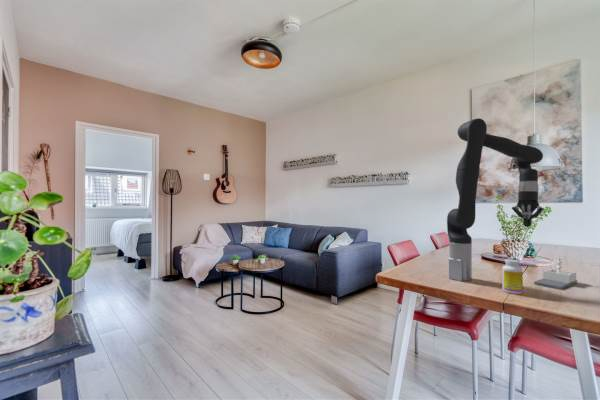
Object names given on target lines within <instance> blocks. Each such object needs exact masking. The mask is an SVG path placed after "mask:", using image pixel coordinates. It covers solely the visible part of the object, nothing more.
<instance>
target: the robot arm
mask: <svg viewBox="0 0 600 400" xmlns="http://www.w3.org/2000/svg"><path fill="white" fill-rule="evenodd" d="M487 127H488V126H487V123H486V122H485V119H483V118H479V117H478V118H474V119H471V120H469V121H466V122H464V123H462V124H461V125H460V126H459V127H458V129H457V136H458V138H459V139H460V140H462V141H464V142H466V146H465V147H466V148H465V150H464V152H463V155H462V157H461V158H460V160H459V162H458V164H457V167H456V175H455V184H456V189H457V192H458V196H459V199H458V206H457V208H452V209H450V211H448V213H447V216H446V227H447V236H448V239H449V249H448V250H449V253H448V254H449V258H448V279H450V280H455V281H458V282H471V281H472V280H473V277H472V276H473V275H472V274H473V272H472V271H473V270H472V269H473V268H472V267H473V264H472V263H473V261H472V260H473V258H472V257H473V256H472V253H473V252H472V251H473V250H472V249H473V248H472V247H473V246H472V244H473V243H472V241H473V240H472V239H473V238H472V237H471V236H470V234H469V233H468V230H469V229H470V228H472V226H473V225H474V224H475V221H476V200H477V192H478V191H477V190H478V183H479V182H478V181H479V175H480V167H481V166H480V165H481V159H482V154H483V153H482V152H483V148H484V147H485V148H488V149H491V150H493V151H496V152H498V153H501V154H503V155H505V156H507V157H510V158H515V162H516V166H517V170H518V172H519V179H518V181H519V182H518V194H517V195H518V197H517V199H518V200H517V203H516V205H514V206H512V207H511V209H512V211H513V212H514V213H515V214H516V215H517V216H518V218H521V219H522V221H523V222H522V225H523V226H524V228H526V227H527V228H530V227H531V226H532V220H533V219H536V218H538V216H539V215H541V214H542V213H543V212H544V211H545V207H543V206H541V205H540V203H539V182H538V181H539V177H538V176H539V171H538V170H537V168H532V166H531V165H533V164H537V163H540V162H541V161H542V160H543V158H544V154H543V152H542V151H541V150H540V149H539V148H537V147H533V146H531V145H527V144H523V143H519V142H517V141H515V140H512V139H511V138H509V137H508V138H507V137H503V136H499V135H494V134H490V133H487Z"/></svg>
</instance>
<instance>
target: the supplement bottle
mask: <svg viewBox="0 0 600 400" xmlns="http://www.w3.org/2000/svg"><path fill="white" fill-rule="evenodd" d="M504 263H505V265H503V266H502V268H501V271H502V273H501V277H502V278H501V279H502V280H501V283H502V284H501V287H502V288H501V289H502V291H503V292H505V293H509V294H514V295H520V294H523V293H524V291H523V290H524V289H523V285H524V284H523V283H524V282H523V269H522V267H520V260H519V259H511V258H510V259H509V258H508V259H507V258H506V259H504Z"/></svg>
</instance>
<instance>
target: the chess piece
mask: <svg viewBox="0 0 600 400" xmlns="http://www.w3.org/2000/svg"><path fill="white" fill-rule="evenodd" d="M561 260H562V258H561V256H558V258H556V261H555V262H556V267H555V268H557V269H558V271H557V273H561V270H562V269H561V268H563V266H562V263H563V261H561Z"/></svg>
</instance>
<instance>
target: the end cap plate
mask: <svg viewBox="0 0 600 400" xmlns="http://www.w3.org/2000/svg"><path fill="white" fill-rule="evenodd" d="M557 271H558V268H557V269H556V268H548V269H545V270H542V272H543V273H542V278H541V279H537V280H536V281H535V280H534V283H533V284H534V285H535V286H541V287H544V288H550V289H555V290H559V291H562V290H564V289H566V288H568V287H570V286H573V285H575V284H577V283H578V279H577V272H576V271H569V270H568V271H567V270H564V269H563V270H562V269H561V273H557Z"/></svg>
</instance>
